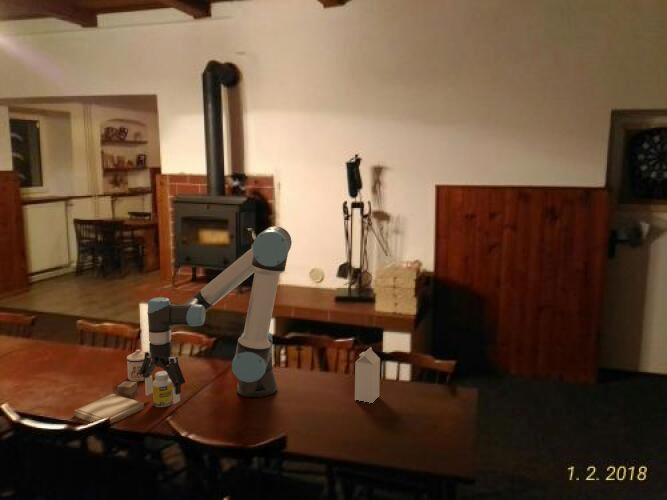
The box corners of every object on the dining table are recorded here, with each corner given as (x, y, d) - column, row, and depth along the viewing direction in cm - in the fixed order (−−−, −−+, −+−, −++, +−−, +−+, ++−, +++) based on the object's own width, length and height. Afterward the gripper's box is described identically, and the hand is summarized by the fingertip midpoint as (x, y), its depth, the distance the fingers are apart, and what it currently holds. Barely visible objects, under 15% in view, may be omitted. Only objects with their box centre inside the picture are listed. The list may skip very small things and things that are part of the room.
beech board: (144, 408, 191) (143, 402, 191) (105, 427, 177) (105, 420, 177) (113, 398, 199) (113, 393, 198) (74, 415, 185) (73, 409, 184)
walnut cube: (137, 394, 203) (136, 381, 202) (130, 400, 198) (129, 387, 197) (125, 393, 203) (124, 381, 203) (118, 399, 199) (117, 386, 198)
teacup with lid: (129, 383, 212) (128, 355, 211) (125, 376, 220) (124, 348, 218) (160, 378, 218) (159, 350, 216) (155, 370, 226) (154, 344, 224)
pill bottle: (155, 409, 190) (153, 378, 189) (152, 402, 196) (150, 371, 194) (174, 405, 193) (172, 374, 191) (170, 398, 199) (169, 368, 197)
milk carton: (379, 397, 202) (380, 348, 199) (372, 404, 196) (373, 354, 193) (361, 393, 205) (362, 345, 202) (354, 400, 199) (355, 351, 196)
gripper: (194, 344, 188) (196, 401, 192) (143, 333, 200) (146, 387, 204) (178, 350, 182) (180, 409, 185) (127, 338, 194) (130, 394, 197)
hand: (162, 398), depth 194 cm, fingers open, 13 cm apart
